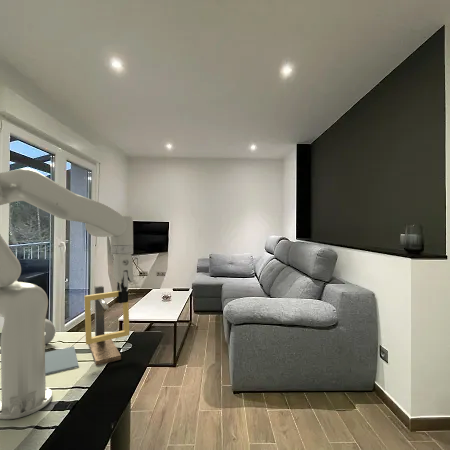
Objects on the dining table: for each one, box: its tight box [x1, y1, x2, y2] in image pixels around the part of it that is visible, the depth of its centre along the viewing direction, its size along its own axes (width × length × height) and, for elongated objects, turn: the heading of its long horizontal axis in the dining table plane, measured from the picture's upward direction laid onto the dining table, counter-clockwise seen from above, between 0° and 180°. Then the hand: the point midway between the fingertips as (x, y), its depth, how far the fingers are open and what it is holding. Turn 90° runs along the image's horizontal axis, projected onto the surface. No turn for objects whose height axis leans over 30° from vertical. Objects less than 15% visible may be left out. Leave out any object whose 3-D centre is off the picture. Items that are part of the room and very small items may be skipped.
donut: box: [45, 318, 56, 345], centre depth 117 cm, size 10×4×10 cm, turn 76°
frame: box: [83, 290, 130, 345], centre depth 102 cm, size 2×14×16 cm, turn 122°
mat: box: [45, 346, 79, 376], centre depth 102 cm, size 18×12×1 cm, turn 31°
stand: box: [87, 285, 122, 366], centre depth 109 cm, size 22×8×22 cm, turn 31°
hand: (122, 301), depth 105 cm, fingers closed on frame, 1 cm apart
